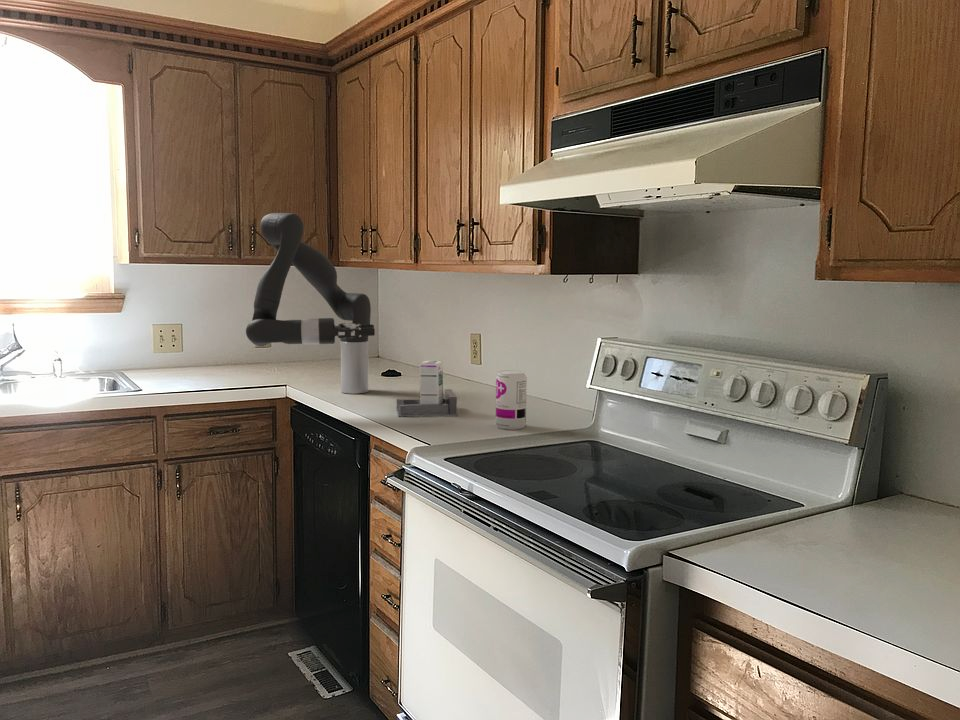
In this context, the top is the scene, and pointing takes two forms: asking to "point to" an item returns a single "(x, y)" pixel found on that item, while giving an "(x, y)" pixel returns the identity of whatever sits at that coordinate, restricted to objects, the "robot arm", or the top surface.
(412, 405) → the bracket
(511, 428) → the supplement can
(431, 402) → the syrup box
